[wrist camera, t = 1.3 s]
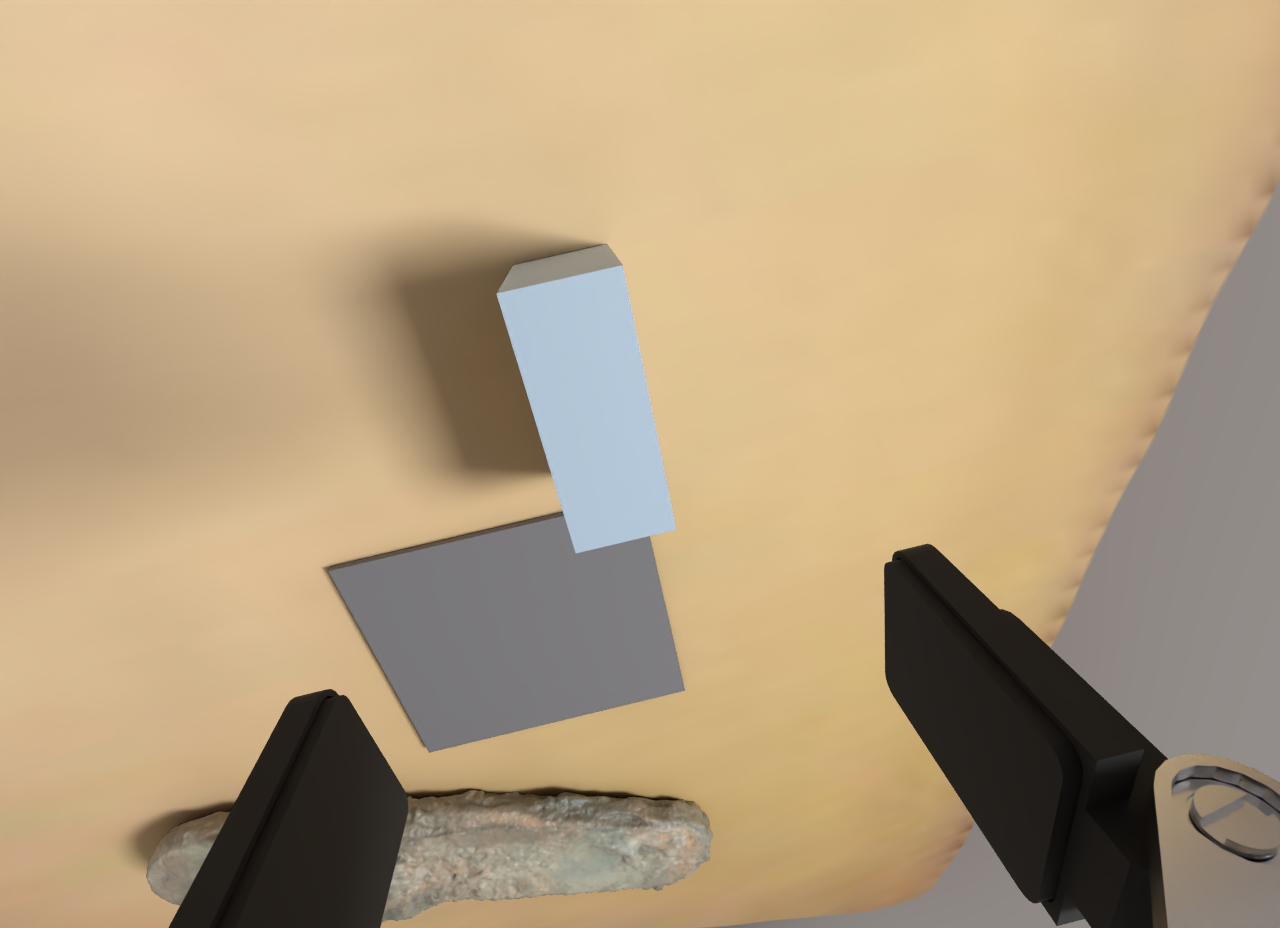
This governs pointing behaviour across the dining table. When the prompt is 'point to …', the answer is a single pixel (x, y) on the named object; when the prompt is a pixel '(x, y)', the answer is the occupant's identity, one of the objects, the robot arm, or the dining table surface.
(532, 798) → the elongated rough stone
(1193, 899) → the robot arm
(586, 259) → the pale blue upright box
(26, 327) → the dining table surface
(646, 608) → the mat
